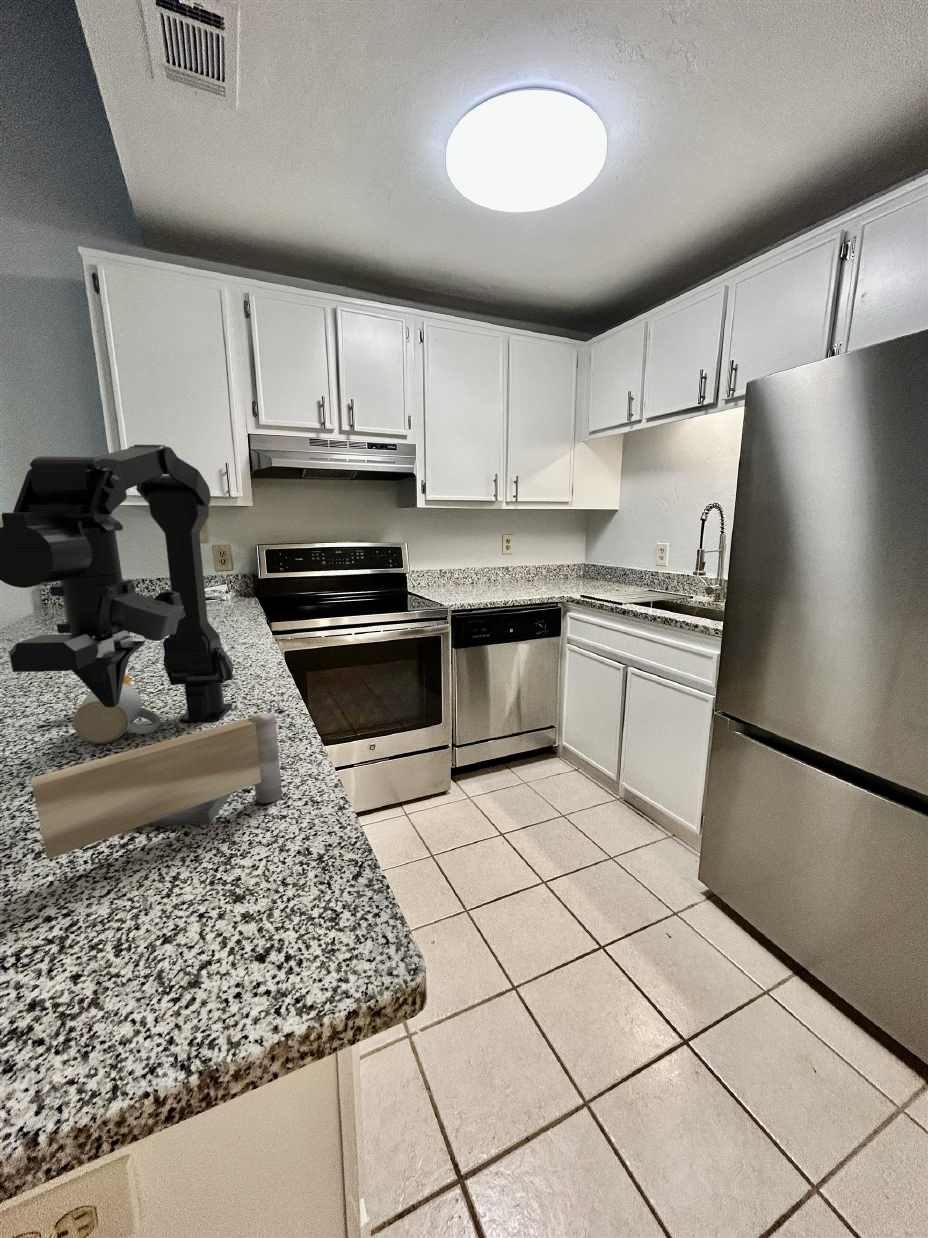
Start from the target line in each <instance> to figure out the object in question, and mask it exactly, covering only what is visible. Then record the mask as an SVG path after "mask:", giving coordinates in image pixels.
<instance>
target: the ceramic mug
mask: <svg viewBox="0 0 928 1238" xmlns="http://www.w3.org/2000/svg"><path fill="white" fill-rule="evenodd" d="M137 718H142V719H146V720H148V721H149V722H152V723H153V724H148V725H147V724H138V723H134V722H135V721H136V720H137ZM161 721H162V719H161V716H160V715H158V714H157V713H156V712H154V711H152V710H150V709H148V708H143V701H142V696H141V695H140V693H139V692H138V691H137V690H136V689H135V688H134V687H133V686H131V685H130V686H129V685H127V684H125V683H123V686H122V690H121V695H120V700H119V704H118V705H116V706H115V707H108V708H107V707H105V706H104V705H103V704H102V703H101V702H100V700H99V699H98V698H97V697H96V696H95V695H94V694H93V693H92V691H91V690H90V692H89V693H88V695H87V696H86V697H85V698H84V700H83V701H82V702H81V704H80V705H79V706H78V707H77V710H76V711H75V714H74V717H73V722H72V724H73V728H74V729H73V730H74V731H75V733H76V734H77V735H78V736H79V737H80V738H81V739H83V740H84V741H85V742H88V743H92V744H107V743H111V742H114V741H116V740H118V739H119V738H121V737H122V736H123V735H124V734H125V733H127V732H129V733H132V734H139V735H149V734H153V733H155V732H156V731H157V730H158V729H159V727H160V725H161Z"/></svg>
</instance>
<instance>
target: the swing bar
mask: <svg viewBox="0 0 928 1238" xmlns="http://www.w3.org/2000/svg"><path fill="white" fill-rule="evenodd" d="M278 743H279V742H278V734H277V722H276V714H274V713H272V712H261V713H255V714H252V715H251V716H249V717H248V718H243V719H239V720H236V721H233V722H229V723H225V724H222V725H221V724H220V725H218V726H215V727H212V728H207V729H203V730H201V731H197V732H192V733H189V734H186V735H182V736H178V737H174V738H171V739H168V740H164V741H160V742H157V743H153V744H150V745H145V746H142V747H139V748H135V749H132V750H127V751H123V752H120V753H117V754H113V755H110V756H106V757H102V758H98V759H95V760H92V761H91V760H90V761H87V762H84V763H80V764H77V765H72V766H70V767H69V766H68V767H66V768H63V769H59V770H55V771H52V772H48V773H43V774H40V775H38V776H34V777H30V782H31V787H32V791H33V796H34V801H35V807H36V811H37V815H38V817H37V818H38V820H39V827H40V831H41V837H42V840H43V841H42V842H43V845H44V846H43V847H44V852H45V855H46V860H47V861H49V860H50V859H53V858H57V857H59V856H62V855H65V854H68V853H70V852H73V851H76V850H78V849H81V848H83V847H86V846H89V845H92V844H95V843H97V842H100V841H103V840H107V839H110V838H111V837H114V836H117V835H119V834H122V833H125V832H128V831H130V830H133V829H135V828H138V827H143V826H142V825H145V824H147V823H150V822H153V821H156V820H158V819H161V818H164V817H166V816H169V815H172V814H175V813H177V812H180V811H183V810H186V809H188V808H191V807H194V806H197V805H199V804H202V803H205V802H208V801H210V800H213V799H216V798H219V797H221V796H224V795H227V794H230V793H232V794H233V793H234V792H238V791H240V790H243V789H246V788H248V787H251V786H253V785H254V791H255V793H254V794H255V801H256V802H258V803H259V804H268V803H270V804H271V803H274V802H277V800H279V799H281V798H282V796H283V789H282V779H281V767H280V755H279V744H278Z"/></svg>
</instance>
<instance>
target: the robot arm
mask: <svg viewBox="0 0 928 1238" xmlns="http://www.w3.org/2000/svg"><path fill="white" fill-rule="evenodd" d="M29 467H30V468H29V469H28V470H27V473H26V475H25V478H24V481H23V482H22V483H23V484H22V485H21V489H20V492H19V494H18V496H17V499H16V503H15V505H14V508H13V510H12V512H2V513H1V520H2V521H1V522H2V525H3V526H1V527H0V581H1V582H3V583H4V584H6V585H9V586H10V587H15V588H21V589H22V588H23V589H26V588H33V587H37V586H38V587H39V586H42V585H46V584H51V583H56V582H58V583H59V584H57V585H52V586H49V590H50V591H49V592H50V596H51V597H61V599H62V604H63V610H64V611H63V612H64V615H65V621H63V622H60V623H56V628H57V629H56V630H57V633H58V634H41V635H38V636H35V637H31V638H29V639H25V640H21V641H18V642H16V643H15V644H14V645H13V646H12V648H11V649H10V650H9V651H8V656H9V661H10V667H11V671H12V673H26V672H27V673H29V672H31V673H32V672H36V673H37V672H70V671H71V672H72V673H74V675H76V676H77V677H78V679H79V680H80V681H82V682H83V683H84V685H85V686H86V687H87V688H88V689H89V690H90V692H91V691H92V693H93V694H94V695H95V696H96V697H97V698H98V699H99V700H100V702H101V703H102V704H103V705H104V706H105V707H107V708H108V707H115V706H116V705H118V704H119V700H120V695H121V690H122V686H123V681H124V676H125V672H126V668H127V669H128V667H127V666H128V665H129V660H130V658H131V656H133V654H135V653H136V652H137V651H138V650H139V649H140V648H141V647H143V646H144V645H145V643H146V641H145V640H134V637H133V635H130V633H132V634H136V635H138V636H141V637H143V638H144V639H146V640H149V641H155V642H159V641H160V642H161V641H163V642H162V647H163V652H164V654H163V665H164V669H165V672H166V675H167V678H168V680H169V683H170V686H177V685H180V686H181V685H183V686H184V695H185V696H184V697H185V703H186V710H187V711H186V712H185V713H184V714H183V715H182V716H180V717H179V718H178V720H179V722H208V721H209V722H213V721H219V720H221V718H223V716H225V715H226V714H227V713H228V712H229V711H230V710H231V709H232V708H233V703H225V697H224V691H223V684H225V683H226V682H228V681H232V680H233V679H234V665H233V663H234V662H232V660H231V659H230V656H228V654H227V652H226V651H225V649H224V648H223V647H222V642H221V641H222V640H221V636H220V635H219V633H218V632H217V631H216V630H215V628H214V626H212V625H211V624H210V622H209V620H208V611H207V601H206V600H207V599H206V590H205V577H204V568H203V558H202V548H201V539H200V538H201V537H200V533H201V531H202V530H203V529H202V528H203V527H204V526H205V524H206V522H207V520H208V518H209V516H210V513H209V511H210V510H209V508H210V507H209V506H210V504H211V502H212V499H211V497H212V496H211V490H210V487H209V485H208V483H207V481H206V480H205V478H204V476H203V475H202V474H201V472H200V471H199V470H198V469H197V468H196V467H194V466H193V465H191V464H189V463H188V462H186V461H185V460H182V459H181V458H180V457H178V456H177V454H176V453H175V452H174V450H173V448H172V447H170V446H166V445H164V444H134V445H133V446H129V447H128V448H124V449H121V450H117V451H113V452H109V453H106V454H103V455H102V454H101V455H98V456H97V455H96V456H44V455H43V456H37V457H35V458H33V459H32V461H31V462H30V463H29ZM134 487H136V488H135V489H136V491H137V492H138V494H139V495H140V496H141V497H142V498H143V499H144V500H145V502H146V503H147V504H148V508H149V513H150V516H151V518H152V519H153V520H154V522H155V523H156V524H157V525H158V526H159V528H160V529H161V531H162V532H163V533H164V537H165V545H166V546H165V547H166V548H165V549H166V556H167V566H168V574H169V583H170V590H169V589H167V590H166V589H165V590H164V591H161V592H159V593H158V594H157V595H156V596H155V597H154V596H153V595H147V596H144V595H142V594H137V592H136V587H135V584H134V583H133V582H132V579H124V578H123V573H122V569H121V568H122V567H121V560H120V553H119V546H118V540H117V533H116V532H121V531H123V530H124V526H123V525H122V523H121V522H120V521H119V520H117V519H116V518H114V517H113V516H112V513H113V511H115V510H116V509H117V508H118V507H119V506H120V505H122V503H124V502H125V501H126V500H127V498H128V497H127V492H126V491H127V490H129V489H131V488H134Z"/></svg>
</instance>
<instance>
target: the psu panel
mask: <svg viewBox="0 0 928 1238" xmlns="http://www.w3.org/2000/svg"><path fill="white" fill-rule="evenodd" d="M232 794H233V792H232V793H230V794H227V795H224V796H221V797H219V798H216V799H213V800H210V801H208V802H205V803H202V804H199V805H197V806H194V807H191V808H188V809H186V810H183V811H180V812H177V813H175V814H172V815H169V816H166V817H164V818H161V819H158V820H156V821H153V822H150V823H147V824H145V825H142V826H141V827H161V826H165V827H166V826H186V825H187V826H188V825H192V826H193V825H210V824H211V823H212V822H213V820H214V819H215V817H216V816H217V815H218V813H219V812H220V810H221V809H222V808H223V806H224V805H225V804H226V802H227V801H228V799H229V798H230V796H231V795H232Z"/></svg>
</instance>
